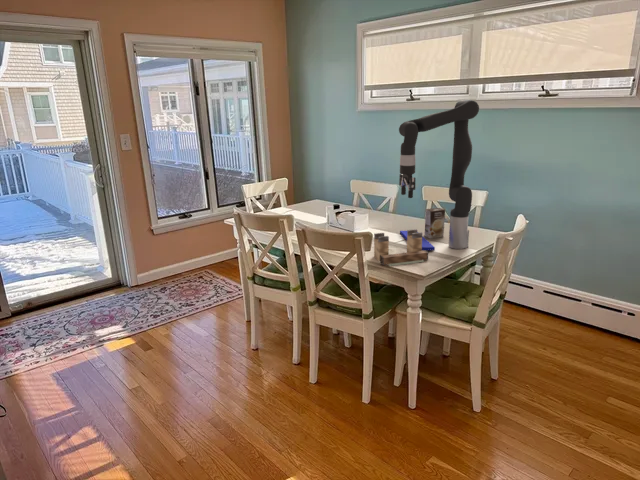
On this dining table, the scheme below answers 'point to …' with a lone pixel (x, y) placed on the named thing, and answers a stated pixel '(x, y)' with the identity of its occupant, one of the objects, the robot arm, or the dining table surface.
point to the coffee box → (434, 223)
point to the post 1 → (381, 245)
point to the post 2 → (414, 241)
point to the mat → (405, 263)
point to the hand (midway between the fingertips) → (406, 196)
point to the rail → (403, 257)
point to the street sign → (425, 243)
